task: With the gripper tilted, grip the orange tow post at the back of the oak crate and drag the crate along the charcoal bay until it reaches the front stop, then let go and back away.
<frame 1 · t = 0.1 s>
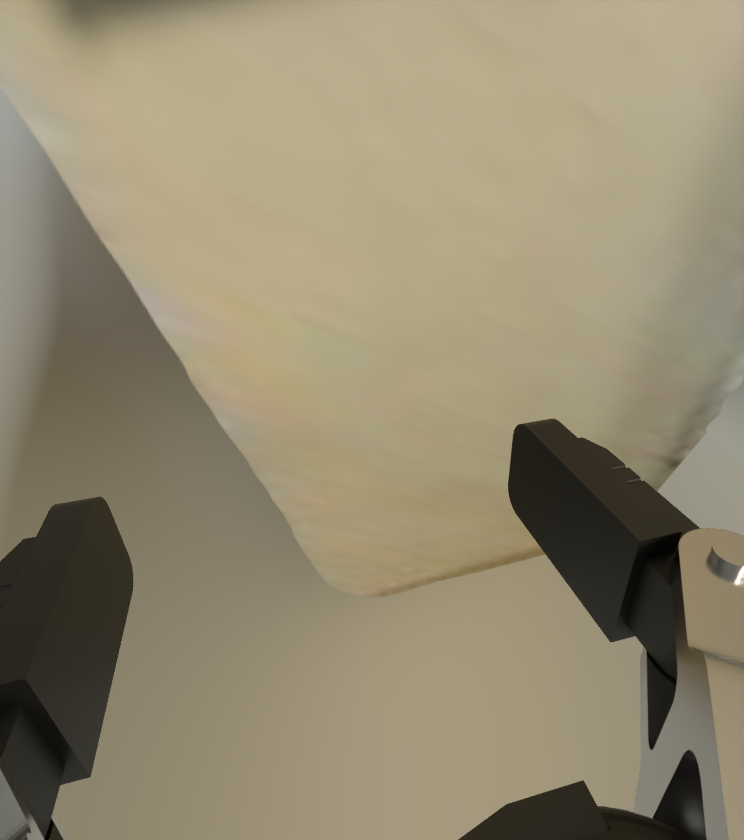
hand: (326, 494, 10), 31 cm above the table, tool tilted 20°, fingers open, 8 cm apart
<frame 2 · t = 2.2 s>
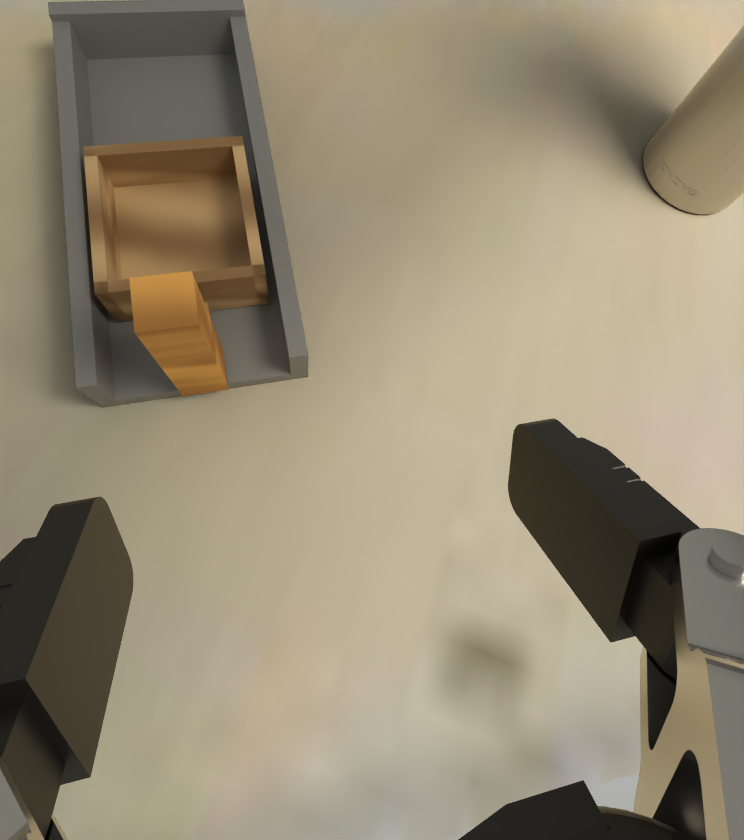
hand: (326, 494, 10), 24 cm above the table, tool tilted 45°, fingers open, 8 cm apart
crate: (173, 239, 31), point 6 cm above the table, slide at 0.0 cm
bay: (184, 208, 39), on the table
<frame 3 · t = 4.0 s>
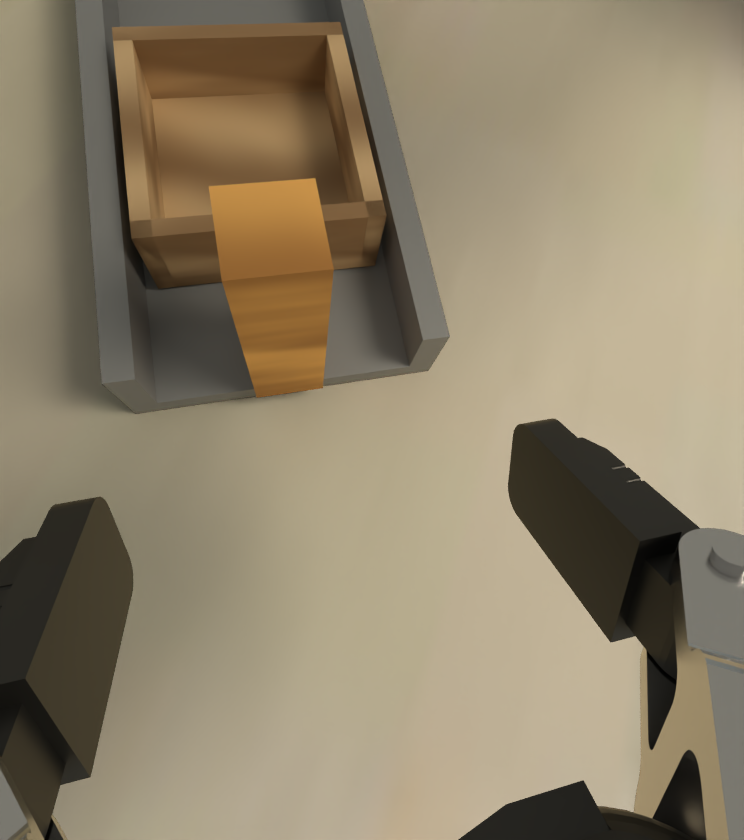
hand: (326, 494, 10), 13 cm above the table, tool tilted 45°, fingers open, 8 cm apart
crate: (253, 156, 20), point 6 cm above the table, slide at 0.0 cm
bay: (246, 137, 28), on the table
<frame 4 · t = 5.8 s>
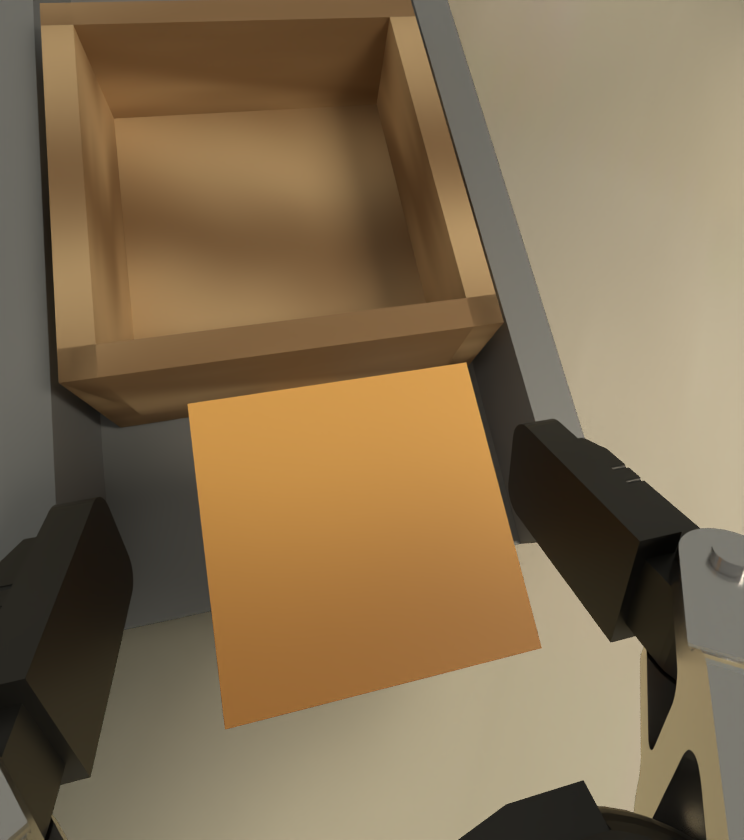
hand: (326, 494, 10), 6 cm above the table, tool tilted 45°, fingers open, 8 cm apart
crate: (279, 229, 11), point 6 cm above the table, slide at 0.0 cm
bay: (259, 171, 19), on the table
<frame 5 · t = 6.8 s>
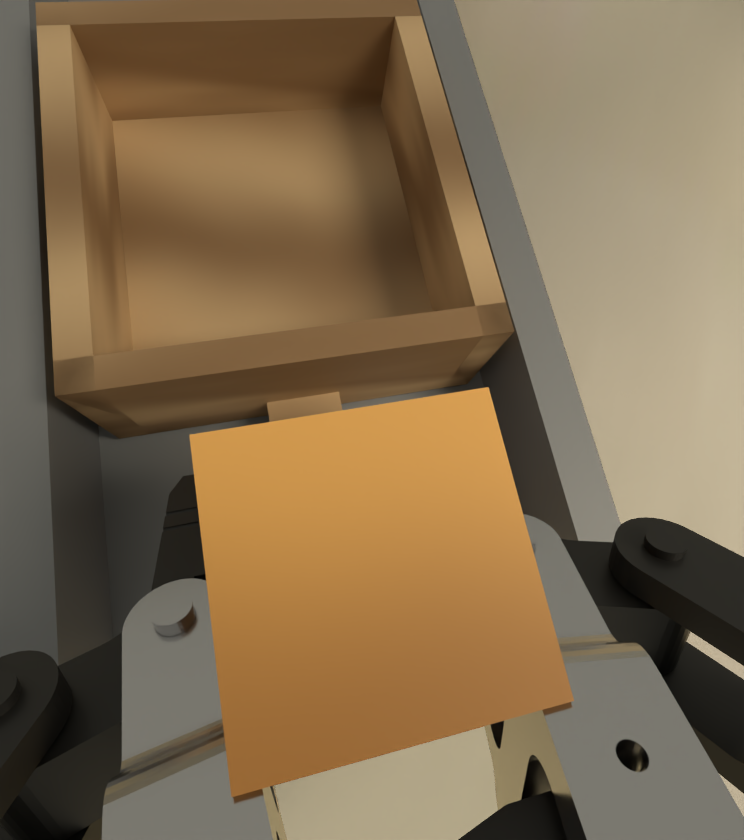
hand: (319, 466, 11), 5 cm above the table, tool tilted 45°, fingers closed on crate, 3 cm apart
crate: (282, 236, 11), point 6 cm above the table, slide at 0.0 cm, touching gripper
bay: (260, 174, 19), on the table
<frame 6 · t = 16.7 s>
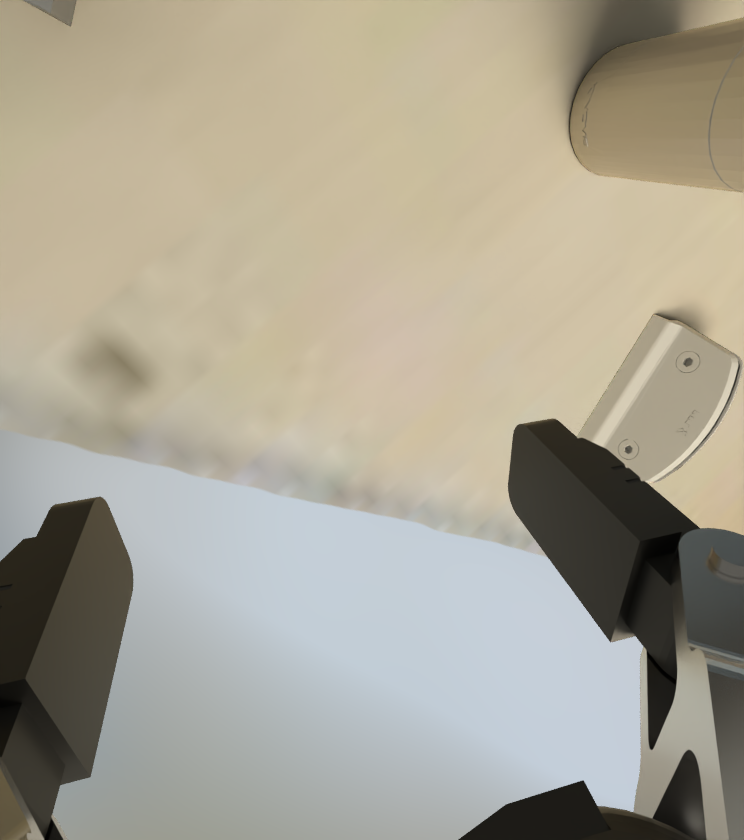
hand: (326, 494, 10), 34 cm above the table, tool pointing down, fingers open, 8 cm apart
hinge: (633, 390, 56), on the table
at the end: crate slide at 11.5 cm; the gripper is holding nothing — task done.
